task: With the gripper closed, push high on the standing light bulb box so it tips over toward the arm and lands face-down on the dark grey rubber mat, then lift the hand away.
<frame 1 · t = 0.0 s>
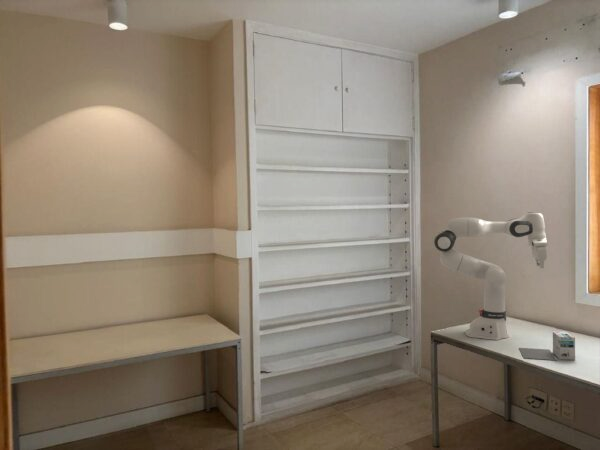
hand: (540, 267, 254), 39 cm above the table, tool pointing down, fingers open, 8 cm apart
rubber mat: (537, 354, 229), on the table
light bulb box: (563, 356, 226), on the table
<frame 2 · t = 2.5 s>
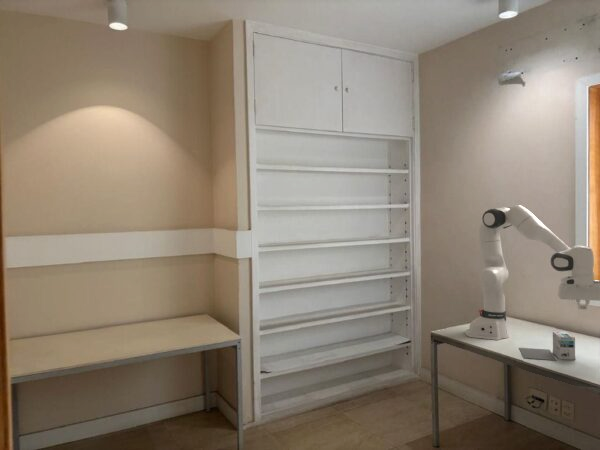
hand: (582, 309, 223), 23 cm above the table, tool pointing down, fingers closed
nothing on the table moved.
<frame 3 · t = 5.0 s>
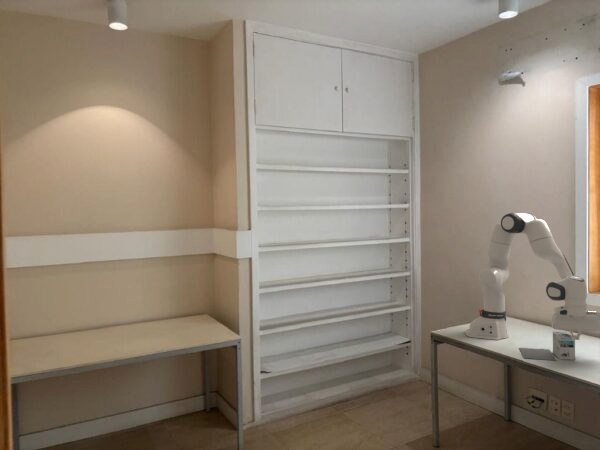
hand: (575, 339, 224), 8 cm above the table, tool pointing down, fingers closed
light bulb box: (563, 356, 226), on the table, touching gripper
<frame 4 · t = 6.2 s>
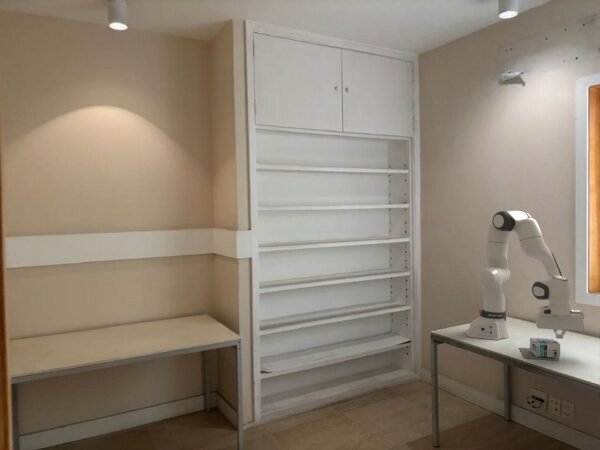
hand: (559, 338, 226), 8 cm above the table, tool pointing down, fingers closed
light bulb box: (557, 348, 226), point 4 cm above the table, touching rubber mat
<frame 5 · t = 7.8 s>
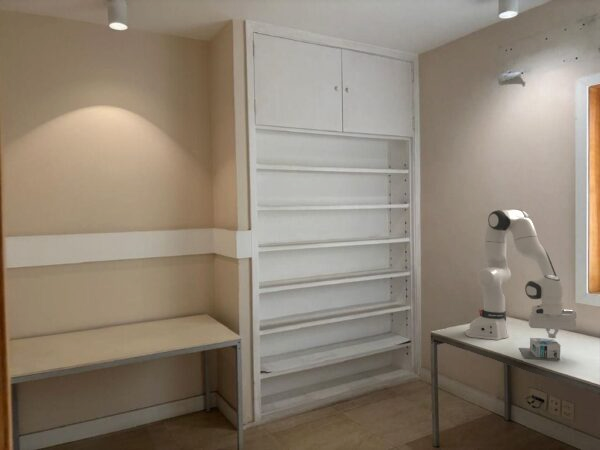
hand: (551, 337, 227), 9 cm above the table, tool pointing down, fingers closed
nothing on the table moved.
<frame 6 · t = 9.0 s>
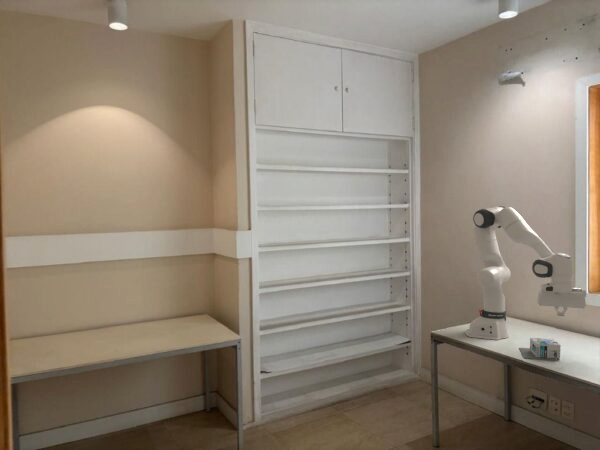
hand: (560, 315, 226), 19 cm above the table, tool pointing down, fingers closed
nothing on the table moved.
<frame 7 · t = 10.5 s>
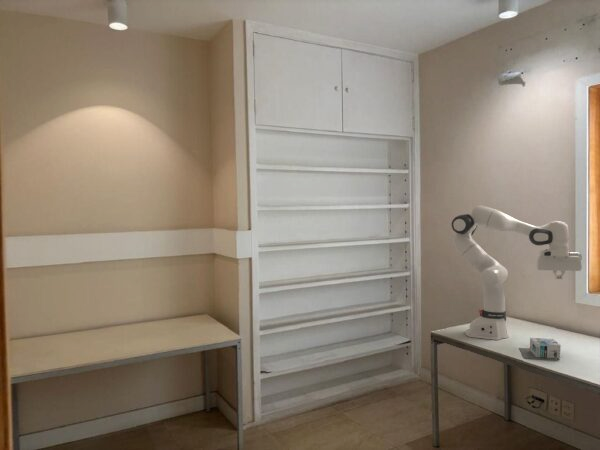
hand: (558, 279, 243), 34 cm above the table, tool pointing down, fingers closed
nothing on the table moved.
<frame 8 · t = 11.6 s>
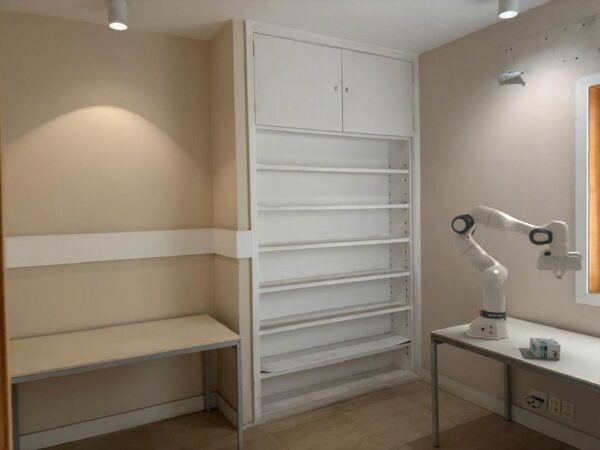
hand: (558, 278, 243), 34 cm above the table, tool pointing down, fingers closed
nothing on the table moved.
at the end: light bulb box tilted 89°; light bulb box inside the target area (3.2 cm from its centre), point 3.6 cm above the table; light bulb box moved 4.6 cm from its start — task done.
